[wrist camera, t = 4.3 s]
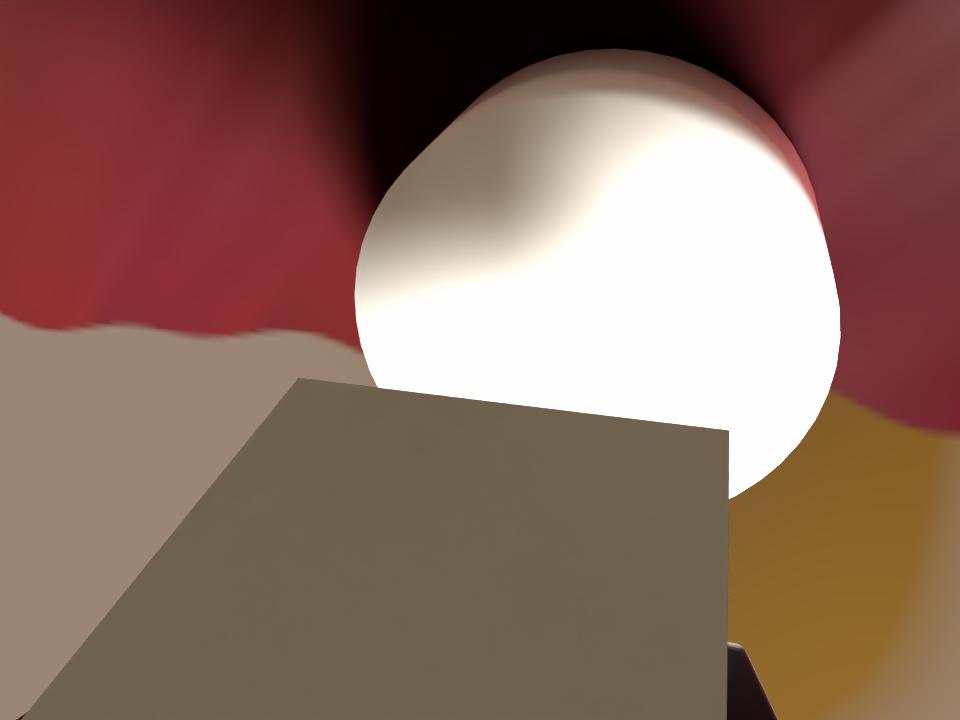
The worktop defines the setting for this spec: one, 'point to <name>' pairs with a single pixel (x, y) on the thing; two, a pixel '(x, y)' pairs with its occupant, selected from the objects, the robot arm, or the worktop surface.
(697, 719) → the white cube
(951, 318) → the worktop surface
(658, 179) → the cream tin
